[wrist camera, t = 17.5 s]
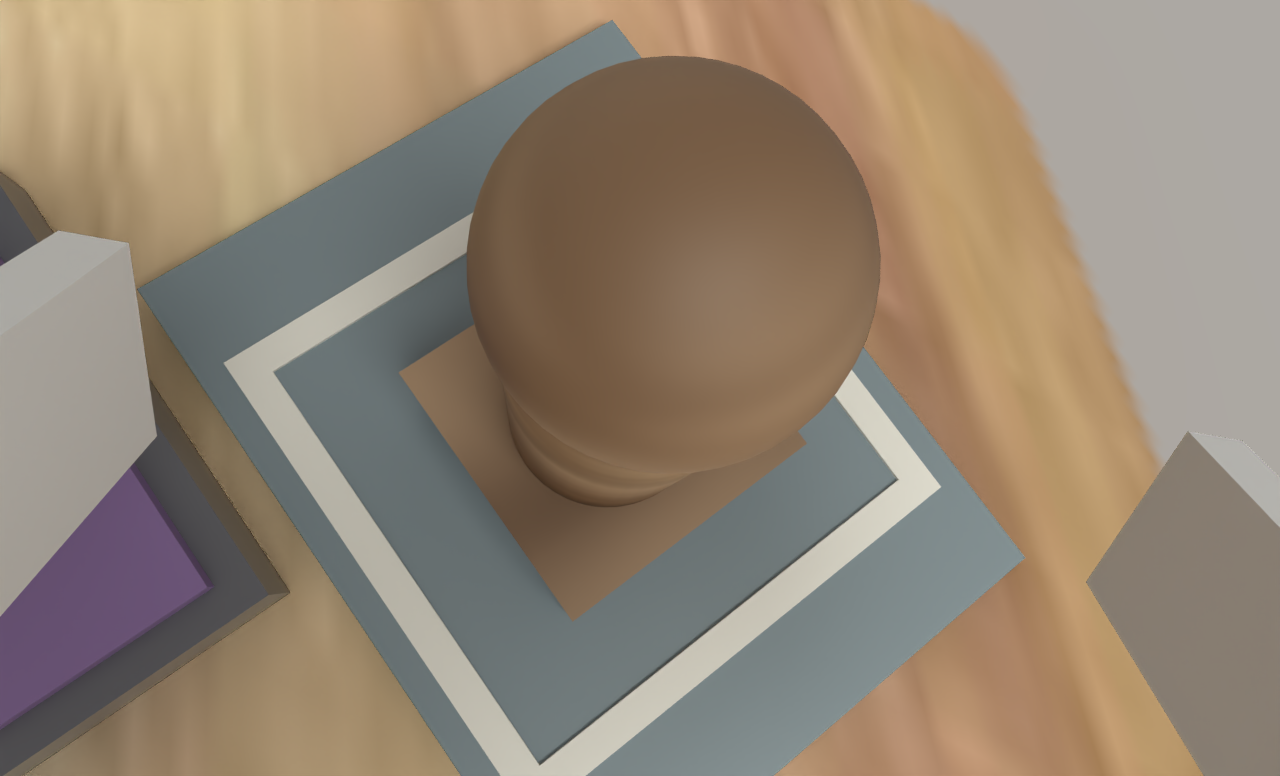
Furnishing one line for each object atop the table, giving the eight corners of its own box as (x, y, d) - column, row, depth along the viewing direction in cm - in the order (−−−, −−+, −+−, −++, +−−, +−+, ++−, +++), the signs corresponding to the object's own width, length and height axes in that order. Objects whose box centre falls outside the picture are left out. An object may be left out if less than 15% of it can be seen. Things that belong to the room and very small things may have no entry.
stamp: (421, 405, 20) (190, 76, 7) (621, 274, 21) (771, -222, 8) (565, 612, 19) (637, 714, 6) (762, 463, 21) (1182, 274, 7)
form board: (148, 297, 20) (135, 287, 20) (610, 33, 23) (612, 17, 23) (573, 935, 18) (575, 949, 18) (1012, 557, 22) (1027, 557, 21)
